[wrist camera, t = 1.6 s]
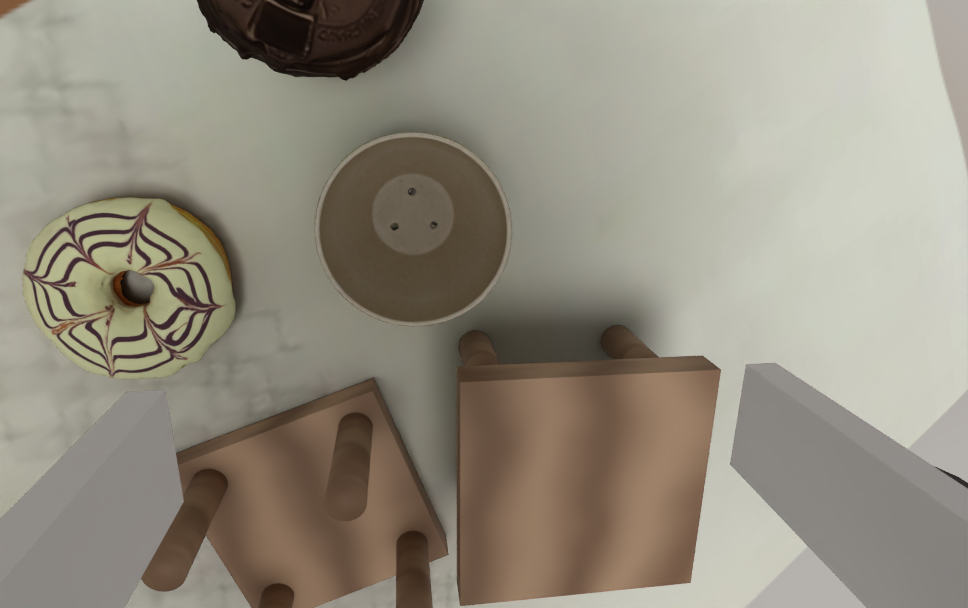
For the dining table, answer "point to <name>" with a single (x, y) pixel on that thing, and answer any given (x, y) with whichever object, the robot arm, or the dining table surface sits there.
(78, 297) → the decorated donut
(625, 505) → the stool
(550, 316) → the dining table surface
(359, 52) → the coffee cup
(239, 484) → the upturned stool
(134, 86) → the dining table surface
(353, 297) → the flower pot
